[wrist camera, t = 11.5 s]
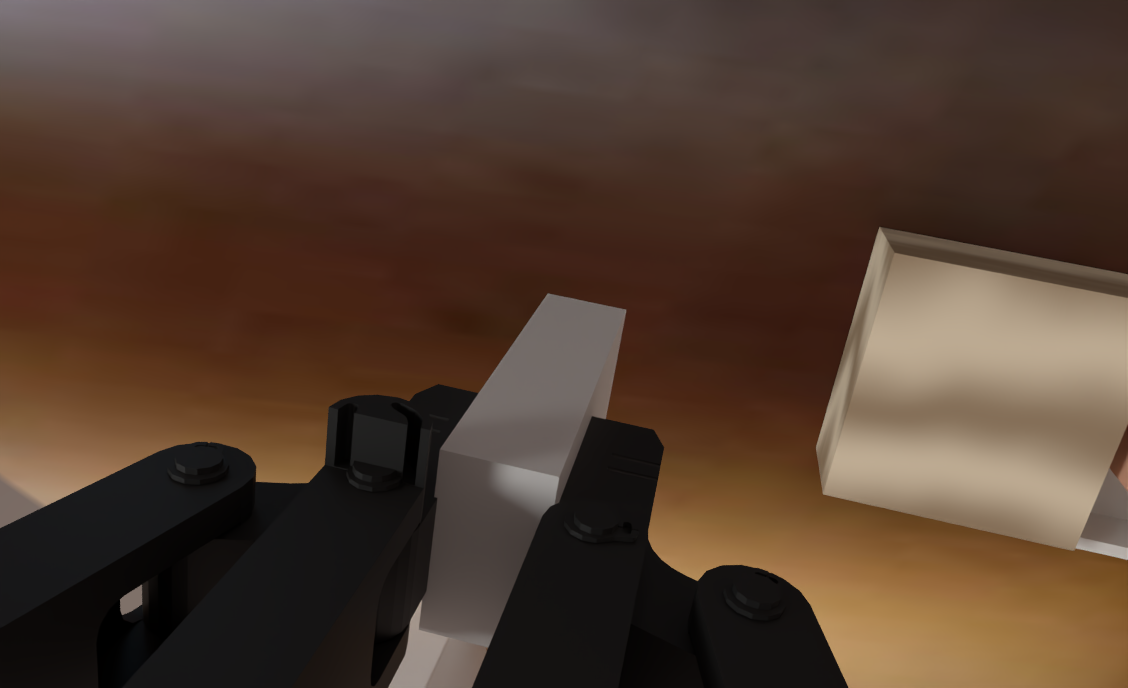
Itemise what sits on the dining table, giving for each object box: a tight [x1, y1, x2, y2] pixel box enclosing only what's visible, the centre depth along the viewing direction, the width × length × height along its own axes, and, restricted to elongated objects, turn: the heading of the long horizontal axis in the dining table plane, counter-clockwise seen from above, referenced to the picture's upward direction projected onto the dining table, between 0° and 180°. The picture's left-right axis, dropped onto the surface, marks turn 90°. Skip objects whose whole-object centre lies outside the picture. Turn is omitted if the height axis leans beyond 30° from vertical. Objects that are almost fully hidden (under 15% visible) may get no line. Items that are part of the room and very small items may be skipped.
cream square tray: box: [816, 227, 1128, 551], centre depth 43 cm, size 12×12×5 cm
